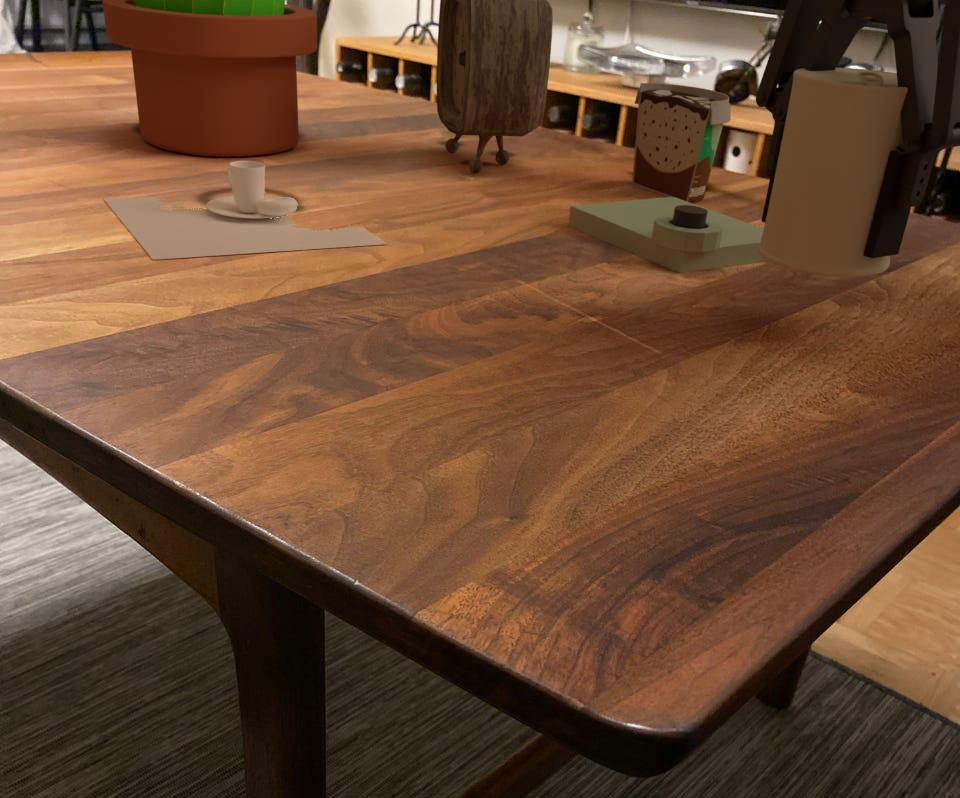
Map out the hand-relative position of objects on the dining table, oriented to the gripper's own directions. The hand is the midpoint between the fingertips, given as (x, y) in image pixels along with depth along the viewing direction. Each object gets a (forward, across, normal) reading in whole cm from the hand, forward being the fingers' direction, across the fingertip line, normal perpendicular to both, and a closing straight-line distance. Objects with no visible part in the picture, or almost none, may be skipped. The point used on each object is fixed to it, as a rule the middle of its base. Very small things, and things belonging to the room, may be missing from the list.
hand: (827, 237), depth 73 cm
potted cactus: (+6, -75, -16) cm, 77 cm away
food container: (+7, -39, +23) cm, 46 cm away
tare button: (+4, -17, +3) cm, 18 cm away
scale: (+7, -23, +8) cm, 25 cm away
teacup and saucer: (+6, -42, -27) cm, 51 cm away
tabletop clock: (+7, -57, +9) cm, 58 cm away
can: (+2, 0, 0) cm, 2 cm away
